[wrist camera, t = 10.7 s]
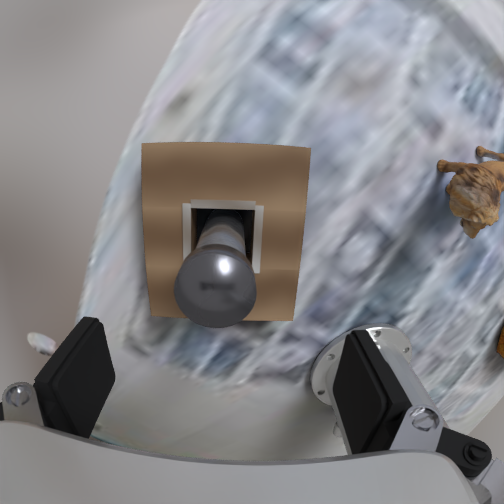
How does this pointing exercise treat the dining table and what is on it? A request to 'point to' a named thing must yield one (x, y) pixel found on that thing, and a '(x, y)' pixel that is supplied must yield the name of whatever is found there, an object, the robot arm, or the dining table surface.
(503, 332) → the croissant
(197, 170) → the block
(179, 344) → the dining table surface
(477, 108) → the dining table surface
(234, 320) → the key peg
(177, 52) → the dining table surface
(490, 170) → the lion figurine
